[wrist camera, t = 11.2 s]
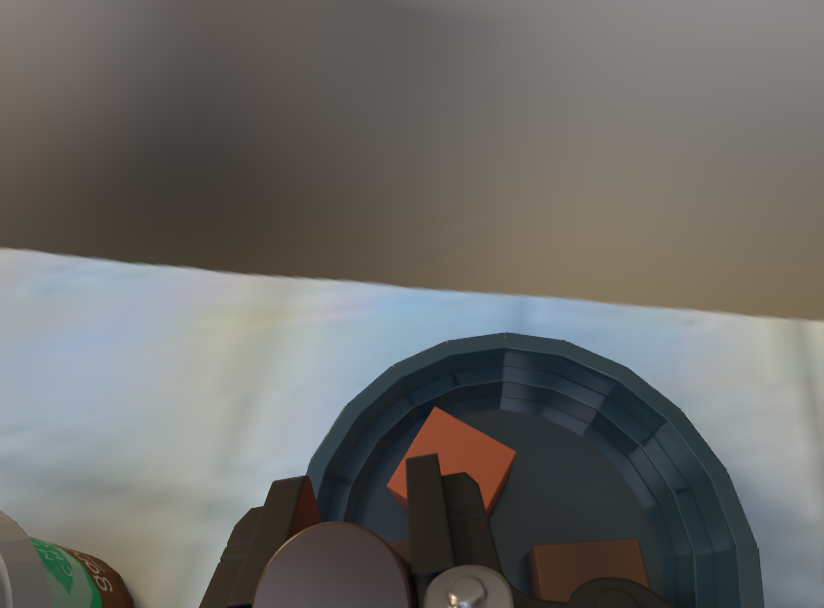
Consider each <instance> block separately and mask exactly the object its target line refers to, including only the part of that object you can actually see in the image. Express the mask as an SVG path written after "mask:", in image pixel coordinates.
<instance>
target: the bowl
mask: <svg viewBox="0 0 824 608" xmlns="http://www.w3.org/2000/svg"><path fill="white" fill-rule="evenodd" d="M434 407H437V408H439V409H441V410H442V411H444V412H446V413H448V414H450V415H451V416H453V417H455V418H457V419H459V420H460V421H462V422H464V423H466V424H468V425H469V426H471V427H473V428H475V429H477V430H478V431H480V432H482V433H484V434H486V435H487V436H489V437H491V438H493V439H495V440H496V441H498V442H500V443H502V444H504V445H505V446H507V447H509V448H511V449H513V450H514V451H516V456H515V459H514V463H513V466H512V470H511V473H510V475H509V477H508V479H507V481H506V483H505V485H504V487H503V489H502V491H501V493H500V495H499V497H498V499H497V501H496V503H495V505H494V507H493V509H492V511H491V512H490V514H489V516H488V520H489V524H490V527H491V531H492V535H493V538H494V542H495V546H496V549H497V553H498V557H499V560H500V564H501V568H502V570H503V573H504V575H505V577H506V578H507V580H508V581H509V582H510V583H511V584H512V585H513V586H514V587H515V588H517V589H518V590H520V591H521V592H523V593H525V594H527V595H530V592H529V585H528V578H527V571H526V565H525V558H524V557H525V555H526V554H527V553H528V552H529V551H530V550H531V549H532V547H533V546H535V545H547V544H561V543H574V542H588V541H602V540H615V539H629V538H637V539H638V540H639V544H640V548H641V552H642V556H643V561H644V565H645V569H646V573H647V577H648V581H649V585H650V589H651V590H652V591H653V592H655V593H656V594H657V595H659V596H660V597H662V598H663V599H665V600H666V601H668V602H669V603H671V604H672V605H674V606H675V607H677V608H764V599H763V589H762V578H761V568H760V558H759V549H758V548H757V544H756V541H755V539H754V536H753V534H752V531H751V529H750V526H749V524H748V521H747V519H746V516H745V514H744V511H743V509H742V506H741V504H740V501H739V499H738V496H737V494H736V491H735V489H734V486H733V484H732V481H731V479H730V476H729V474H728V473H727V470H726V468H725V467H724V466H723V464H722V463H721V462H720V460H719V459H718V458H717V457H716V455H715V454H714V453H713V451H712V450H711V449H710V447H709V446H708V445H707V443H706V442H705V441H704V439H703V438H702V437H701V435H700V434H699V433H698V431H697V430H696V429H695V427H694V426H693V425H692V423H691V422H690V421H689V419H688V418H687V417H686V415H685V414H684V413H683V412H682V411H681V409H680V408H678V407H677V406H676V405H675V404H673V403H672V402H671V401H669V400H668V399H667V398H666V397H664V396H663V395H662V394H661V393H659V392H658V391H657V390H655V389H654V388H653V387H652V386H650V385H649V384H648V383H647V382H645V381H644V380H643V379H641V378H640V377H639V376H638V375H636V374H635V373H634V372H633V371H631V370H630V369H629V368H627V367H625V366H623V365H621V364H618V363H616V362H614V361H611V360H609V359H607V358H604V357H602V356H600V355H597V354H595V353H593V352H590V351H588V350H586V349H583V348H581V347H579V346H576V345H574V344H572V343H569V342H566V341H564V340H557V339H550V338H542V337H535V336H528V335H521V334H514V333H499V334H491V335H484V336H477V337H470V338H463V339H456V340H449V341H447V342H443V343H440V344H438V345H436V346H434V347H431V348H429V349H427V350H425V351H423V352H420V353H418V354H416V355H414V356H412V357H409V358H407V359H405V360H403V361H401V362H398V363H396V364H394V365H393V367H392V366H391V367H390V368H388V369H387V370H386V371H385V372H384V373H383V374H381V375H380V376H379V377H378V378H377V379H376V380H375V381H373V382H372V383H371V384H370V385H369V386H368V387H366V388H365V389H364V390H363V391H362V392H361V393H360V394H358V395H357V396H356V397H355V398H354V399H353V400H352V401H350V402H349V403H348V404H347V405H346V406H345V407H344V408H343V410H342V411H341V413H340V414H339V416H338V418H337V419H336V421H335V422H334V424H333V425H332V427H331V428H330V430H329V432H328V433H327V435H326V436H325V438H324V439H323V441H322V443H321V444H320V446H319V447H318V449H317V450H316V452H315V454H314V455H313V457H312V458H311V460H310V461H311V462H310V463H309V466H308V469H307V473H306V475H308V476H309V478H310V480H311V482H312V486H313V490H314V494H315V498H316V502H317V506H318V510H319V514H320V518H321V522H322V523H326V522H349V523H354V524H357V525H360V526H363V527H365V528H367V529H369V530H371V531H373V532H374V533H376V534H377V535H379V536H380V537H381V538H382V539H383V540H384V541H386V542H387V543H391V542H395V541H402V540H409V534H408V511H407V510H406V509H405V508H403V507H402V506H400V505H399V504H398V503H397V502H396V500H395V499H394V497H393V495H392V494H391V492H390V491H389V489H388V488H387V484H388V483H389V481H390V479H391V478H392V476H393V475H394V473H395V471H396V470H397V468H398V466H399V465H400V463H401V461H402V460H403V458H404V456H405V455H406V453H407V451H408V450H409V448H410V447H411V445H412V443H413V442H414V440H415V438H416V437H417V435H418V433H419V432H420V430H421V428H422V427H423V425H424V423H425V422H426V420H427V419H428V417H429V415H430V414H431V412H432V410H433V409H434Z"/></svg>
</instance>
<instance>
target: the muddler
mask: <svg viewBox="0 0 824 608" xmlns="http://www.w3.org/2000/svg"><path fill="white" fill-rule="evenodd" d="M252 608H418V600H417V595H416V591H415V588H414V584H413V582H412V579H411V576H410V557H409V540H402V541H395V542H391V543H387V542H386V541H384V540H383V539H382V538H381V537H380V536H379V535H377V534H376V533H374V532H373V531H371V530H369V529H367V528H365V527H363V526H360V525H357V524H354V523H349V522H326V523H320V524H317V525H314V526H311V527H309V528H306V529H304V530H302V531H301V532H299V533H297V534H296V535H294V536H293V537H291V538H290V539H289V540H288V541H286V542H285V543H284V544H283V545H282V546H281V547H280V548H279V549H278V550H277V551H276V553H275V554H274V555H273V556H272V558H271V559H270V560H269V562H268V564H267V565H266V567H265V568H264V570H263V572H262V574H261V576H260V578H259V581H258V584H257V587H256V589H255V593H254V597H253V601H252Z"/></svg>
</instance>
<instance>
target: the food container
mask: <svg viewBox="0 0 824 608" xmlns="http://www.w3.org/2000/svg"><path fill="white" fill-rule="evenodd" d="M0 608H134V606H133V600H132V598H131V596H130V594H129V592H128V590H127V588H126V587H125V585H124V583H123V581H122V579H121V577H120V575H119V574H118V573H117V572H116V571H115V570H113V569H112V568H111V567H110V566H108V565H107V564H106V563H105V562H104V561H102V560H100V559H98V558H95V557H93V556H91V555H87V554H84V553H81V552H78V551H74V550H71V549H68V548H64V547H61V546H58V545H55V544H51V543H48V542H45V541H41V540H38V539H35V538H32V537H28V535H27V534H26V533H25V532H24V531H23V529H22V528H21V527H20V526H19V525H18V523H17V522H15V521H14V520H13V519H11V518H10V517H9V516H7V515H6V514H5V513H3V512H2V511H1V510H0Z"/></svg>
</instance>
